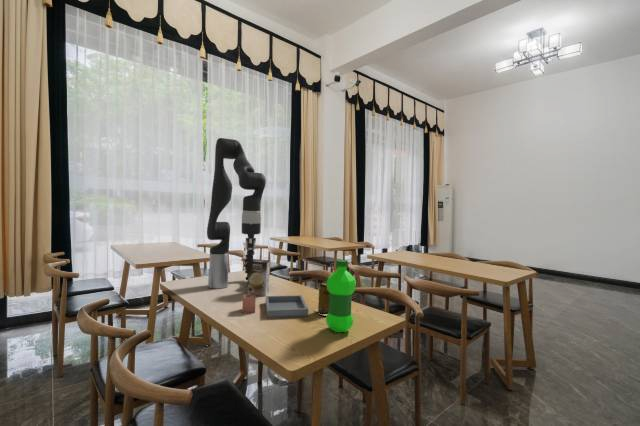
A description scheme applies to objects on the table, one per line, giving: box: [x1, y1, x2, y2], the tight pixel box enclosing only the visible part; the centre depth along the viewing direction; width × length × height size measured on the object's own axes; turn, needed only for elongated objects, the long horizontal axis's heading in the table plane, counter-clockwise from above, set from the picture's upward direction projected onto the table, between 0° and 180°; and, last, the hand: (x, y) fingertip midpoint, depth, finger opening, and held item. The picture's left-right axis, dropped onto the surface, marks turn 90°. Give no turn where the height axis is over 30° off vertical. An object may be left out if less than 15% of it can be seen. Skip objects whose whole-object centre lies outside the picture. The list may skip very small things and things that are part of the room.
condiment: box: [313, 281, 330, 318], centre depth 126 cm, size 7×8×12 cm
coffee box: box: [247, 258, 271, 297], centre depth 149 cm, size 9×6×16 cm
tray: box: [265, 294, 309, 319], centre depth 129 cm, size 16×18×3 cm
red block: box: [241, 294, 257, 314], centre depth 126 cm, size 5×5×6 cm
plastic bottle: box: [325, 259, 357, 333], centre depth 110 cm, size 10×10×25 cm
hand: (250, 261), depth 125 cm, fingers open, 8 cm apart
